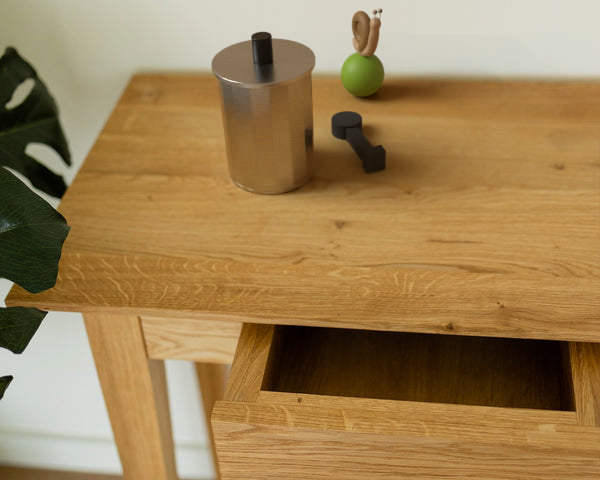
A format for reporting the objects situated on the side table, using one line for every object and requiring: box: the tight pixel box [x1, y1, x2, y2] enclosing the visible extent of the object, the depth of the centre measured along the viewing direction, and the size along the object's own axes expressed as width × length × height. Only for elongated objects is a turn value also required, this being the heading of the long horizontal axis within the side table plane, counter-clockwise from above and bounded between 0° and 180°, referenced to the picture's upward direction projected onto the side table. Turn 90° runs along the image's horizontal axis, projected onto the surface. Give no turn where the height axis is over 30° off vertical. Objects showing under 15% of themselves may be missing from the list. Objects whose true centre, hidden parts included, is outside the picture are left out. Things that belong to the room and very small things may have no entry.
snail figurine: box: [340, 7, 385, 98], centre depth 92 cm, size 5×6×12 cm
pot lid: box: [210, 31, 316, 89], centre depth 75 cm, size 10×10×4 cm
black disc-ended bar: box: [330, 110, 387, 174], centre depth 86 cm, size 4×11×2 cm, turn 18°
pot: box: [216, 72, 316, 195], centre depth 80 cm, size 9×9×12 cm
